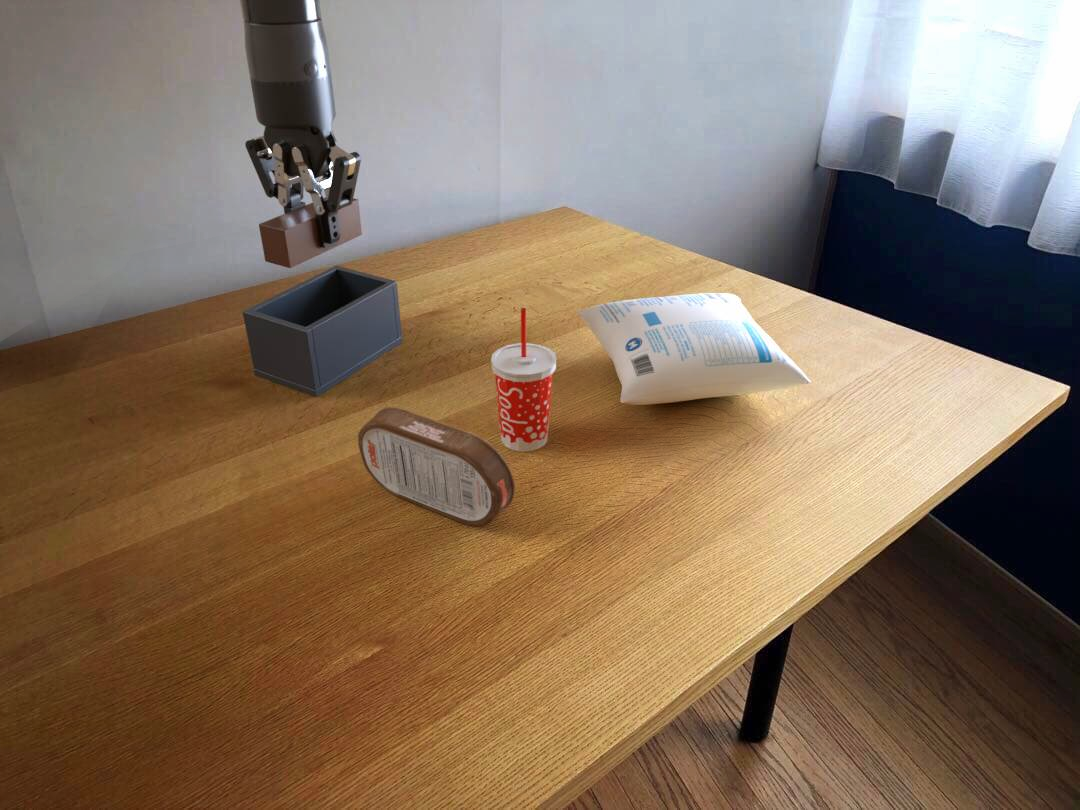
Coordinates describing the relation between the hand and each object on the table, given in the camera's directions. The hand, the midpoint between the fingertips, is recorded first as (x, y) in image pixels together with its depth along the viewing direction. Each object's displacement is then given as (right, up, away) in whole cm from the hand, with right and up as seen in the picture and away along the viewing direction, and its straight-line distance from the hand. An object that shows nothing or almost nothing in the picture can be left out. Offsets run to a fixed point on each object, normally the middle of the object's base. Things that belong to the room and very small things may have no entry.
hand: (314, 241), depth 91 cm
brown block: (0, -1, 0) cm, 1 cm away
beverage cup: (+22, -21, -6) cm, 31 cm away
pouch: (+40, -14, +4) cm, 42 cm away
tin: (+15, -26, -15) cm, 34 cm away
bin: (0, -12, +7) cm, 14 cm away
